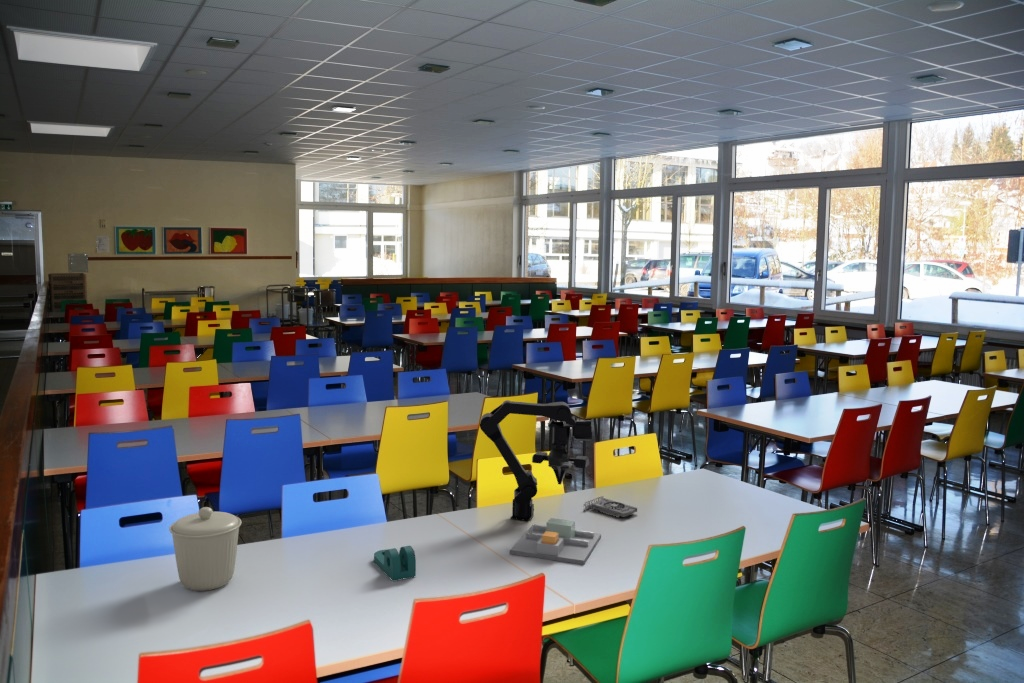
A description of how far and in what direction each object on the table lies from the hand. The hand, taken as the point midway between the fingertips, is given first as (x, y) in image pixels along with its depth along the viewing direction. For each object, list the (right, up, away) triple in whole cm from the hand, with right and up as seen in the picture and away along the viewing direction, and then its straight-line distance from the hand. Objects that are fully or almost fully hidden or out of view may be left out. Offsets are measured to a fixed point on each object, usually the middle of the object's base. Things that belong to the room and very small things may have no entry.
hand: (559, 484), depth 273 cm
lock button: (-5, -14, -32) cm, 35 cm away
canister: (-99, -17, -58) cm, 115 cm away
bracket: (-51, -16, -44) cm, 69 cm away
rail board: (-2, -15, -23) cm, 27 cm away
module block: (-1, -13, -20) cm, 24 cm away
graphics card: (+18, -12, +9) cm, 24 cm away
